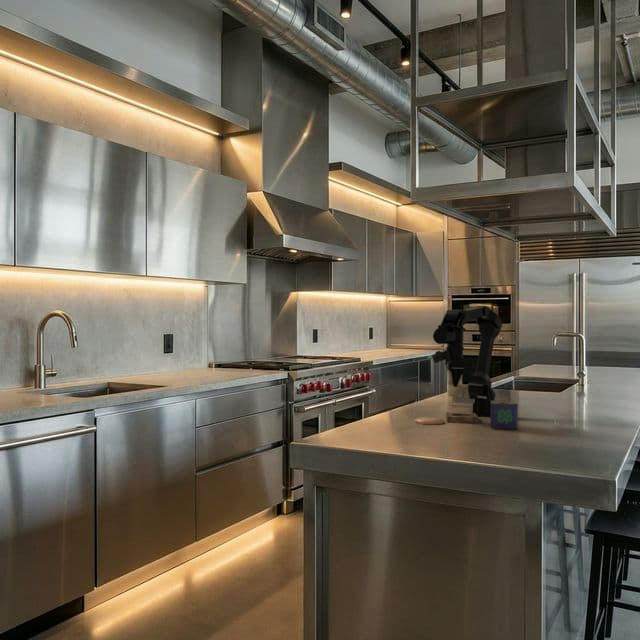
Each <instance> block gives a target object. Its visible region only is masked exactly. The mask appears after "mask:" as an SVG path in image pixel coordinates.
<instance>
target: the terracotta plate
mask: <svg viewBox="0 0 640 640" xmlns="http://www.w3.org/2000/svg"><path fill="white" fill-rule="evenodd" d="M414 421H415V423H416V424H419V425H429V426H431V425H432V426H433V425H434V426H437V425H442V424H444V419H442V418H438V417H426V416H423V417H416V418H415V420H414Z"/></svg>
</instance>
